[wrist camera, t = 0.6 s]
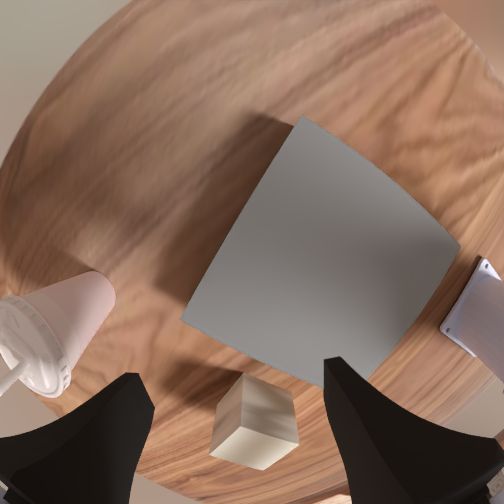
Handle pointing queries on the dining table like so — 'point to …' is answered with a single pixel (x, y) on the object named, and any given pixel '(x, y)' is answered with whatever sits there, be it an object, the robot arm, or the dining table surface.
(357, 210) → the plinth
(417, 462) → the robot arm
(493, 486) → the coffee box
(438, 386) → the dining table surface
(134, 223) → the dining table surface
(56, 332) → the smoothie
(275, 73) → the dining table surface
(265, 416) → the cream cube
